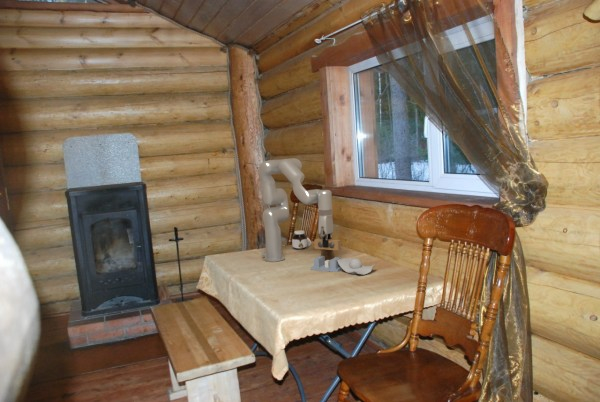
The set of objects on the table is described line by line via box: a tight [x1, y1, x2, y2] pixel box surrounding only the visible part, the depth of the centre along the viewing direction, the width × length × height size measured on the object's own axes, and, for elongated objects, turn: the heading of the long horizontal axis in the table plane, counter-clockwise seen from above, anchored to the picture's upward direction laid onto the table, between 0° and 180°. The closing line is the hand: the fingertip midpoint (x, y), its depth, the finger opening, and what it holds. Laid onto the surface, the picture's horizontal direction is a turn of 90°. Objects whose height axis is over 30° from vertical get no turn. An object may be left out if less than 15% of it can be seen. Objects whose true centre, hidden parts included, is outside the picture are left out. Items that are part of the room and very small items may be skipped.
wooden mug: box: [318, 233, 335, 261], centre depth 276 cm, size 9×14×18 cm, turn 11°
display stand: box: [310, 255, 343, 273], centre depth 259 cm, size 16×10×6 cm, turn 62°
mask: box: [337, 257, 376, 276], centre depth 251 cm, size 20×8×15 cm
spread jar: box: [291, 230, 312, 251], centre depth 316 cm, size 12×11×12 cm
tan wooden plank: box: [314, 238, 342, 251], centre depth 258 cm, size 14×4×5 cm, turn 62°
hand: (327, 246), depth 258 cm, fingers closed on tan wooden plank, 3 cm apart
